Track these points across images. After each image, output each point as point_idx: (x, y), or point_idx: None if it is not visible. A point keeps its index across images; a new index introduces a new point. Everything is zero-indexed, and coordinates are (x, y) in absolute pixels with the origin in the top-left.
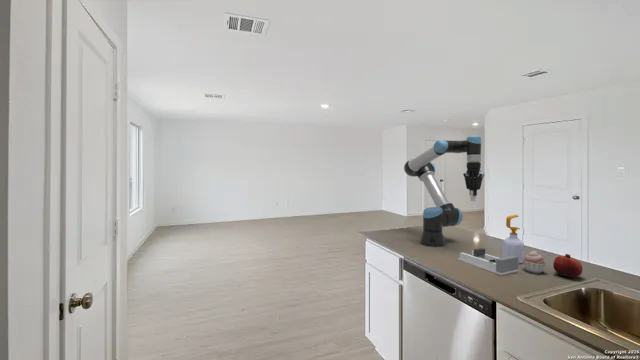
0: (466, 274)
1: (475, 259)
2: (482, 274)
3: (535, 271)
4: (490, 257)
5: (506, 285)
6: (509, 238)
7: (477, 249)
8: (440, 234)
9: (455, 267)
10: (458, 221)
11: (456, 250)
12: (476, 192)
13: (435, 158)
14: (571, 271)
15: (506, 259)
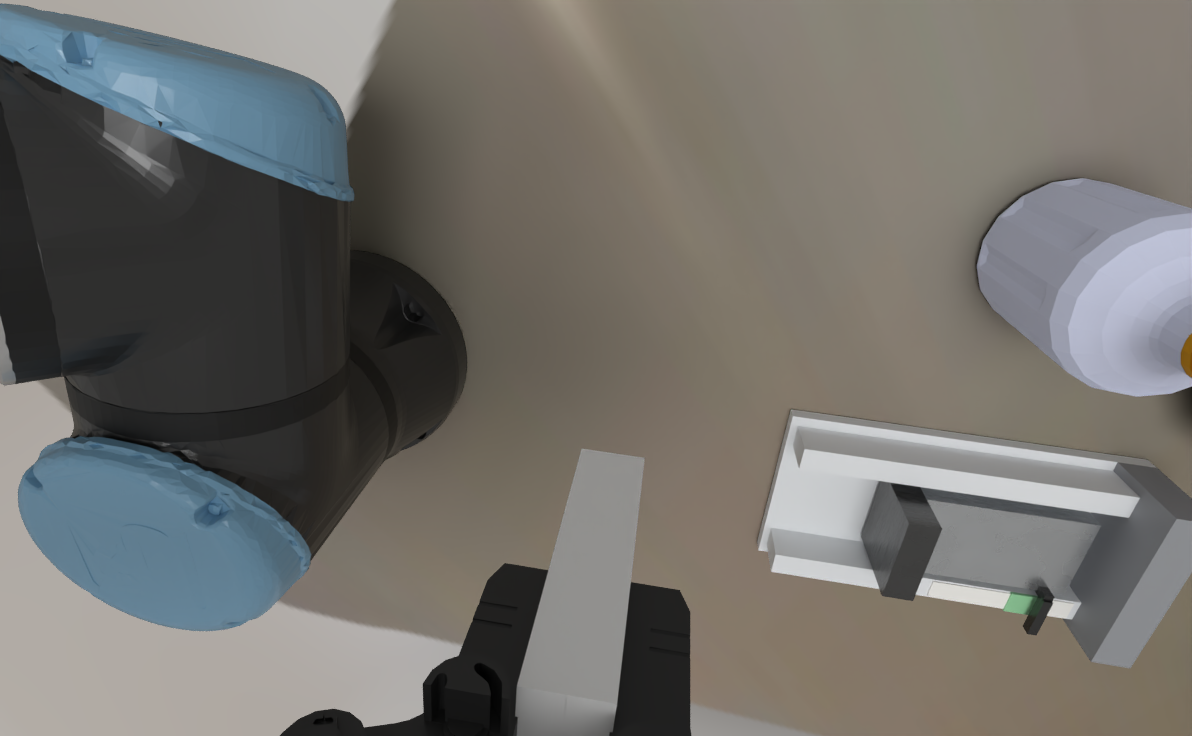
0: (922, 695)
1: None
2: (986, 645)
3: None
4: (986, 532)
5: (1141, 689)
6: (1150, 368)
7: (905, 580)
8: (407, 395)
9: (825, 653)
10: (347, 178)
11: (607, 363)
12: (688, 694)
13: None
14: None
15: (1154, 628)
